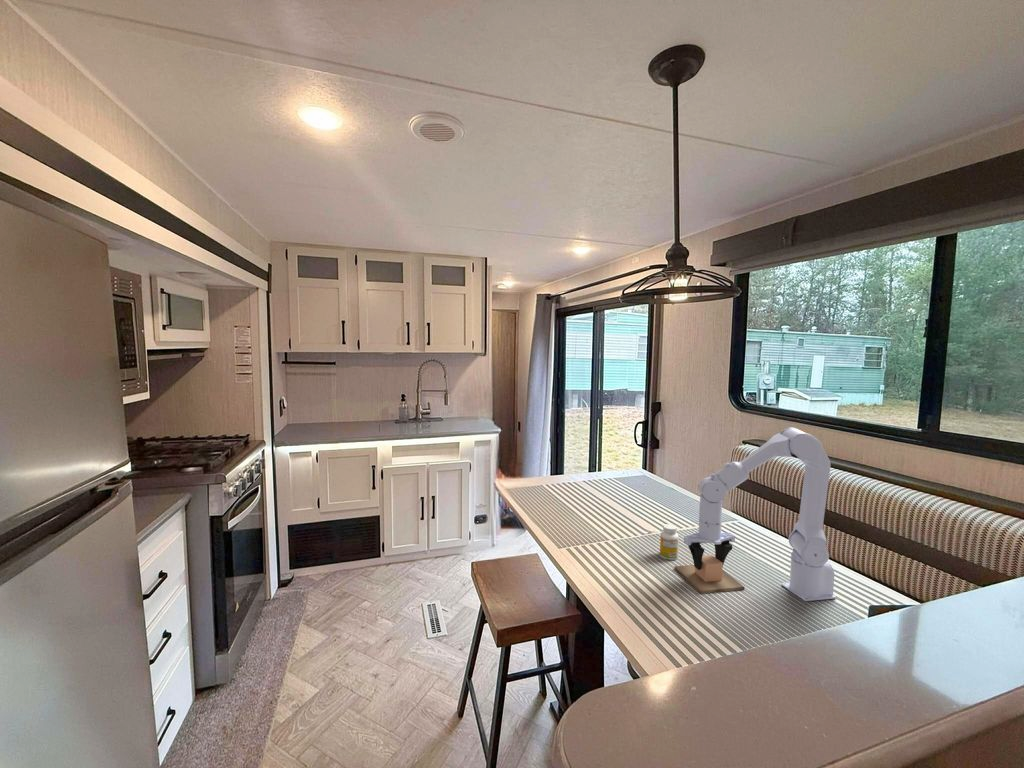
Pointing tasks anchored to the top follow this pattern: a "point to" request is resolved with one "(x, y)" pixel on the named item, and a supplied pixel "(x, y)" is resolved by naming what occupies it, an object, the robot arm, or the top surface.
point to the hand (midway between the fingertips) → (708, 567)
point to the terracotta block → (710, 569)
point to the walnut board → (711, 586)
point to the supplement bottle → (669, 542)
